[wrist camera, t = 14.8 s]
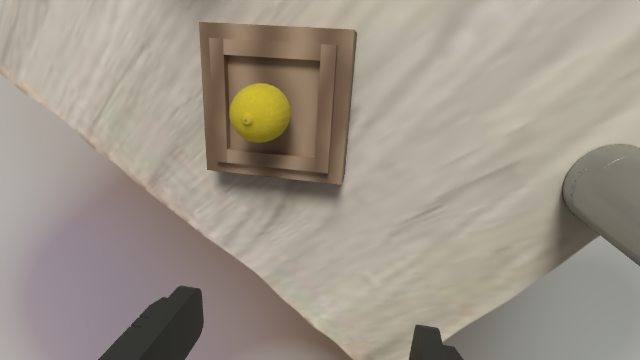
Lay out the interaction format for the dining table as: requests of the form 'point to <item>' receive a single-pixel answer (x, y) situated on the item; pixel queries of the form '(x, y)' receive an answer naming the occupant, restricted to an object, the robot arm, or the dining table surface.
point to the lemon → (260, 113)
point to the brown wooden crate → (295, 83)
